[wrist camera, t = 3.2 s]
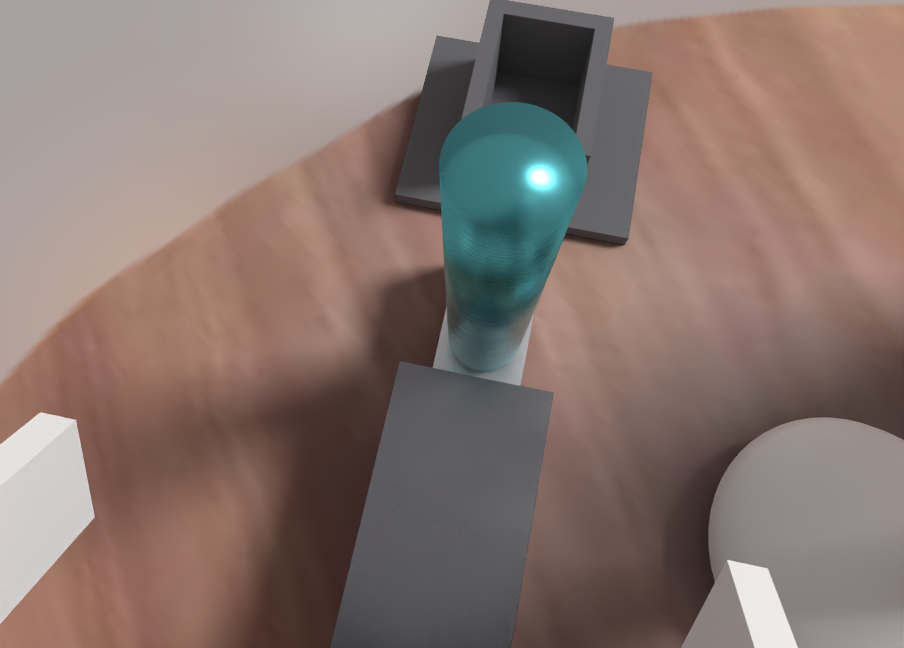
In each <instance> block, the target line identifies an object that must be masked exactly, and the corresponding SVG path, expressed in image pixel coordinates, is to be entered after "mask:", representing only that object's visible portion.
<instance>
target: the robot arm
mask: <svg viewBox="0 0 904 648" xmlns="http://www.w3.org/2000/svg"><path fill="white" fill-rule="evenodd" d="M94 517H95V516H94V511H93V506H92V501H91V495H90V490H89V485H88V480H87V475H86V470H85V464H84V459H83V454H82V449H81V444H80V438H79V433H78V428H77V423H76V420H74V419H69V418H64V417H60V416H55V415H50V414H46V413H41V412H40V413H39V414H38V415H37V416H35V417H34V418H33V419H32V420H30V421H29V422H28V423H27V424H25V425H24V426H23V427H22V428H20V429H19V430H18V431H17V432H15V433H14V434H13V435H12V436H10V437H9V438H8V439H7V440H5V441H4V442H3V443H2V444H0V623H1V622H2V621H3V620H4V619H5V618H6V617H7V616H8V614H9V613H10V612H11V611H12V610H13V609H14V608H15V606H16V605H17V604H18V603H19V602H20V601H21V600H22V599H23V597H24V596H25V595H26V594H27V593H28V592H29V591H30V590H31V588H32V587H33V586H34V585H35V584H36V583H37V582H38V581H39V579H40V578H41V577H42V576H43V575H44V574H45V573H46V572H47V570H48V569H49V568H50V567H51V566H52V565H53V564H54V562H55V561H56V560H57V559H58V558H59V557H60V556H61V555H62V553H63V552H64V551H65V550H66V549H67V548H68V547H69V546H70V544H71V543H72V542H73V541H74V540H75V539H76V538H77V537H78V535H79V534H80V533H81V532H82V531H83V530H84V529H85V528H86V526H87V525H88V524H89V523H90V522H91V521H92V520H93V518H94ZM681 648H798V647H797V644H796V641H795V639H794V636H793V634H792V631H791V628H790V626H789V623H788V620H787V618H786V615H785V612H784V610H783V607H782V605H781V602H780V599H779V597H778V594H777V591H776V589H775V586H774V583H773V581H772V578H771V576H770V573H769V570H768V568H763V567H759V566H754V565H749V564H745V563H740V562H735V561H731V560H727V561H726V563H725V565H724V567H723V569H722V571H721V572H720V574H719V576H718V578H717V580H716V582H715V584H714V586H713V588H712V590H711V591H710V593H709V595H708V597H707V599H706V601H705V603H704V605H703V607H702V609H701V611H700V612H699V614H698V616H697V618H696V620H695V622H694V624H693V626H692V628H691V630H690V631H689V633H688V635H687V637H686V639H685V641H684V643H683V645H682V647H681Z"/></svg>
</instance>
